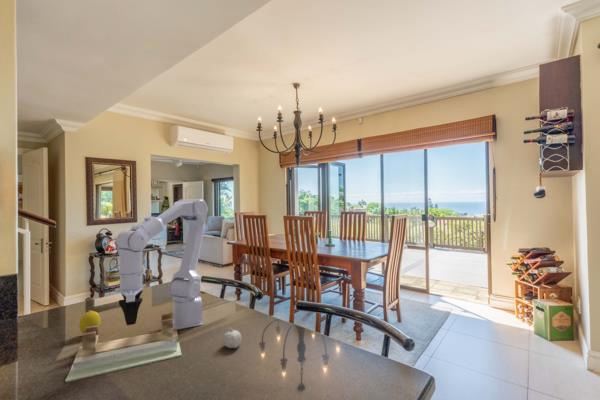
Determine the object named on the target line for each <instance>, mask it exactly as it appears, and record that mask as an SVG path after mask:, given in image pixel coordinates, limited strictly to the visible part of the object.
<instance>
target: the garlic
mask: <svg viewBox="0 0 600 400" xmlns="http://www.w3.org/2000/svg"><path fill="white" fill-rule="evenodd" d="M241 342H242V334H241V333H240V332H239V331H238V330H236V329H233V327H229V328H228V331H227V332H225V334H224V335H223V337H222V343H223V344H224V346H225V347H226V348H228V349H236V348H237V347H238V346H239V345H240V344H241Z"/></svg>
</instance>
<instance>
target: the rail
mask: <svg viewBox="0 0 600 400" xmlns="http://www.w3.org/2000/svg"><path fill="white" fill-rule="evenodd" d="M177 340H178V339H177ZM177 340H176V338H174V339H169V340H164V341H159V342H154V343H149V344H144V345H139V346H134V347H129V348H124V349H119V350H114V351H109V352H104V353H99V354H93V355H88V356H83V357H78V358H74V361H73V362H72V365H73V373H78V372H82V371H87V370H91V369H96V368H101V367H105V366H110V365H114V364H119V363H124V362H128V361H133V360H137V359H142V358H146V357H151V356H156V355H160V354H165V353H169V352H174V351H177V342H178V341H177Z"/></svg>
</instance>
